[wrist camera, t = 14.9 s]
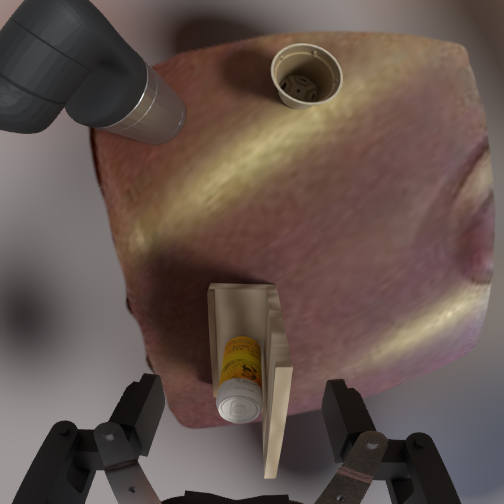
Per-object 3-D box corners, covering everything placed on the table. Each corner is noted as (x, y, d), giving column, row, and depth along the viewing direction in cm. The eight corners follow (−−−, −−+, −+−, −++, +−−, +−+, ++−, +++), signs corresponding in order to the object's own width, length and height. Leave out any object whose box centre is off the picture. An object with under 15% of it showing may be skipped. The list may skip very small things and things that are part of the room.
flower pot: (265, 65, 37) (268, 42, 29) (324, 67, 37) (338, 45, 29) (269, 119, 40) (273, 104, 31) (329, 119, 39) (346, 106, 31)
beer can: (265, 339, 46) (270, 400, 31) (254, 366, 47) (254, 428, 33) (230, 329, 45) (222, 389, 31) (220, 357, 47) (210, 419, 32)
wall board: (215, 385, 51) (200, 475, 30) (210, 283, 46) (179, 363, 25) (269, 386, 51) (275, 478, 30) (275, 284, 46) (292, 367, 25)
